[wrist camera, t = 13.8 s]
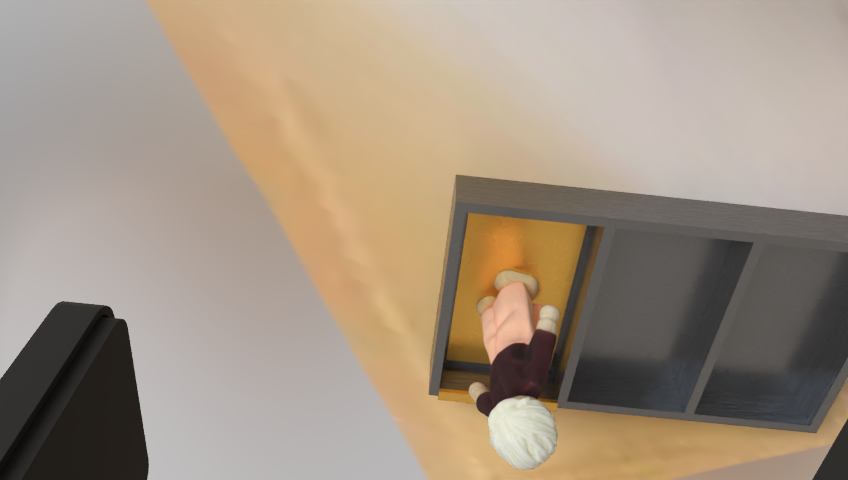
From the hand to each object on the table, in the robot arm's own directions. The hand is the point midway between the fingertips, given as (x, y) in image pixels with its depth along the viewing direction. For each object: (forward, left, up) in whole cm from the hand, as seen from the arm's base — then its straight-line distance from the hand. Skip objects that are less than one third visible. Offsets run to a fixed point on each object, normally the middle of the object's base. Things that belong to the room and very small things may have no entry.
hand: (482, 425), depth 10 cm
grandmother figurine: (-5, +20, -30) cm, 36 cm away
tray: (-14, +20, -30) cm, 38 cm away
